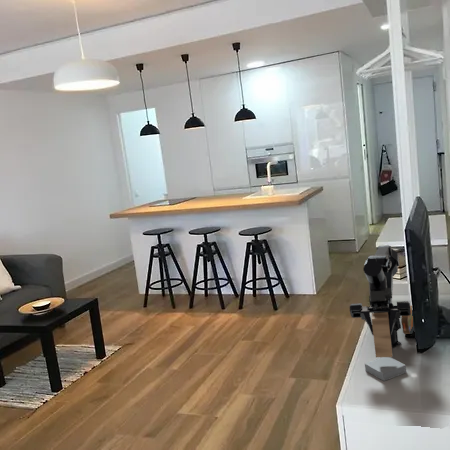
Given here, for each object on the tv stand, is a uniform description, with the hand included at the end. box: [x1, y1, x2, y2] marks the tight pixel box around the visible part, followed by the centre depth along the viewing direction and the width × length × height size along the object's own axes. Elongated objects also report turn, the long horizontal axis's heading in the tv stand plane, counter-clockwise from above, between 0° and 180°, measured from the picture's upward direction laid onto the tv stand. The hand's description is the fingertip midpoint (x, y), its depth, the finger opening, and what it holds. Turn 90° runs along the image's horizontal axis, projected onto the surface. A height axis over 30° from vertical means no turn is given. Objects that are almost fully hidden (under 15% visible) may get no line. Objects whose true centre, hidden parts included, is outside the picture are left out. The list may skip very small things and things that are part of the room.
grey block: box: [364, 357, 407, 382], centre depth 163 cm, size 9×9×2 cm
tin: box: [400, 305, 413, 336], centre depth 190 cm, size 15×3×8 cm, turn 147°
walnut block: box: [371, 312, 393, 358], centre depth 161 cm, size 5×5×13 cm
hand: (381, 334), depth 160 cm, fingers closed on walnut block, 5 cm apart
